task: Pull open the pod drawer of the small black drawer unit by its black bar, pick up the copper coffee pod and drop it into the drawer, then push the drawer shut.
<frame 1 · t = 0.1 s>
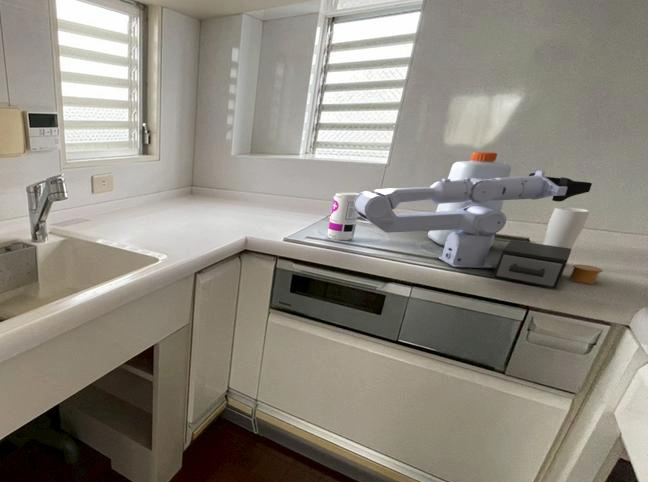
hand: (576, 185, 101), 22 cm above the countertop, tool horizontal, fingers open, 7 cm apart
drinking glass: (549, 264, 112), on the countertop
pod drawer: (529, 266, 98), point 4 cm above the countertop, slide at 0.5 cm
coffee pod: (581, 280, 99), on the countertop
supplement can: (339, 238, 138), on the countertop
black drawer unit: (527, 276, 102), on the countertop
plastic bottle: (457, 243, 131), on the countertop
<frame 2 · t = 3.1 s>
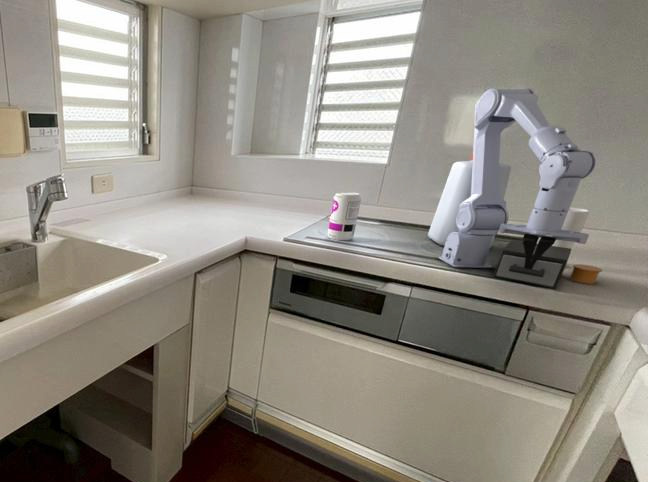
hand: (528, 268, 93), 5 cm above the countertop, tool pointing down, fingers closed, pressing on pod drawer
pod drawer: (529, 266, 98), point 4 cm above the countertop, slide at 0.6 cm, touching gripper
everything else where it was.
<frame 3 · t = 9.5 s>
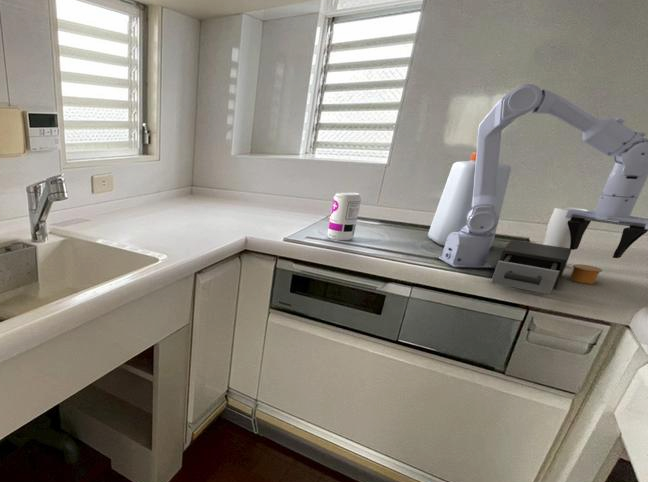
hand: (594, 253, 96), 7 cm above the countertop, tool pointing down, fingers open, 7 cm apart
pod drawer: (525, 273, 94), point 4 cm above the countertop, slide at 7.6 cm
everything else where it was.
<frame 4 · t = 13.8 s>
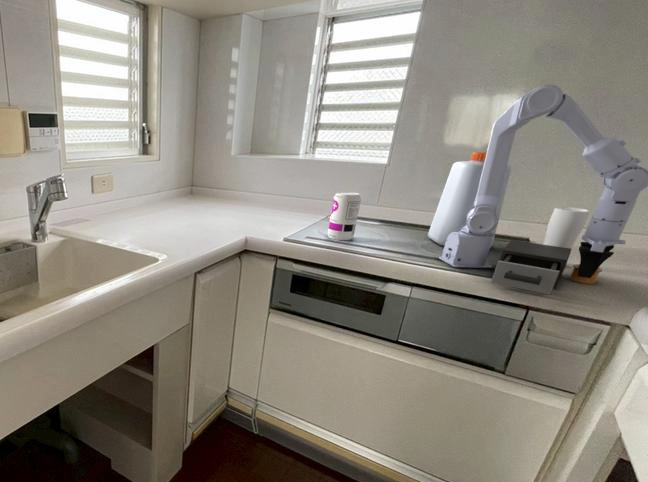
hand: (584, 274, 98), 2 cm above the countertop, tool pointing down, fingers closed on coffee pod, 5 cm apart
coffee pod: (581, 280, 99), on the countertop, touching gripper
everything else where it was.
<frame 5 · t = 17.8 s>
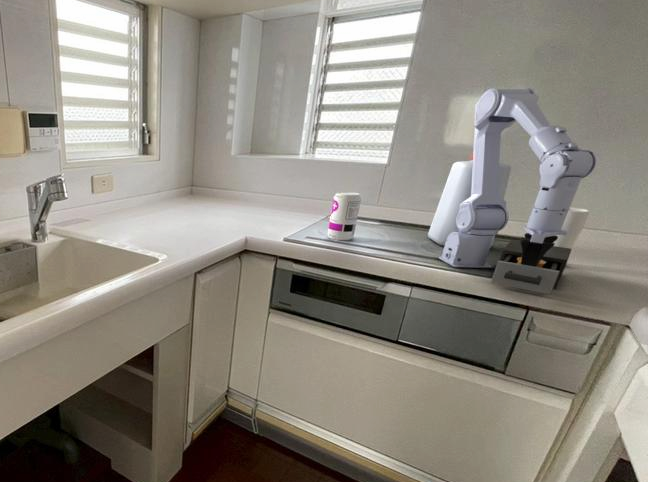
hand: (528, 267, 93), 5 cm above the countertop, tool pointing down, fingers closed on coffee pod, 5 cm apart
pod drawer: (525, 273, 94), point 4 cm above the countertop, slide at 7.6 cm, touching gripper
coffee pod: (526, 273, 94), point 3 cm above the countertop, touching gripper
everything else where it was.
when the fingers open (4 cm above the countertop, at t = 18.8 s): coffee pod stays where it is, resting on pod drawer.
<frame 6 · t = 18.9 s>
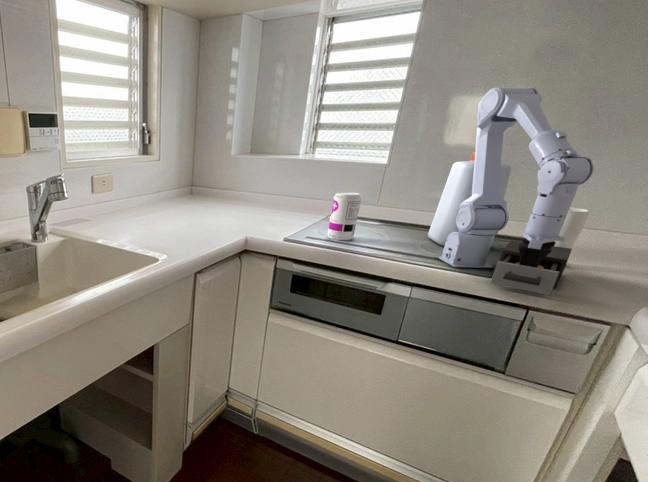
hand: (526, 272, 94), 4 cm above the countertop, tool pointing down, fingers open, 5 cm apart
pod drawer: (525, 274, 93), point 4 cm above the countertop, slide at 8.2 cm, touching coffee pod, gripper
coffee pod: (524, 279, 94), point 2 cm above the countertop, touching pod drawer
everything else where it was.
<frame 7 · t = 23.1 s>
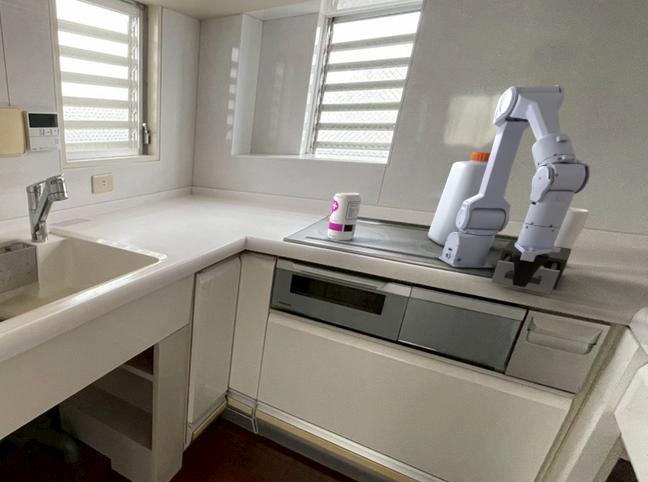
hand: (519, 285, 88), 3 cm above the countertop, tool pointing down, fingers closed
pod drawer: (526, 273, 94), point 4 cm above the countertop, slide at 7.3 cm, touching coffee pod, gripper
everything else where it was.
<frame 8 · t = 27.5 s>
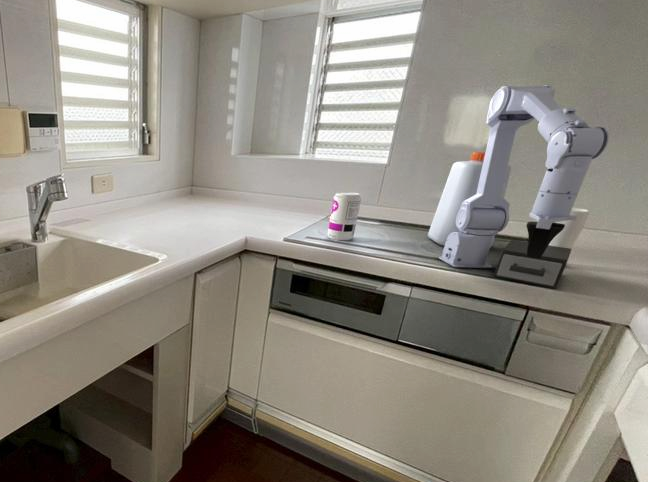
hand: (533, 256, 86), 9 cm above the countertop, tool pointing down, fingers closed
pod drawer: (530, 266, 98), point 4 cm above the countertop, slide at 0.0 cm, touching coffee pod
coffee pod: (528, 271, 100), point 2 cm above the countertop, touching pod drawer
everything else where it was.
at the end: pod drawer pulled out 8.6 cm at the most during the clip, back to where it started at the end; coffee pod inside the target area in the black drawer unit (2.8 cm from its centre), point 2.0 cm above the black drawer unit's base; pod drawer slide at 0.0 cm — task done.
